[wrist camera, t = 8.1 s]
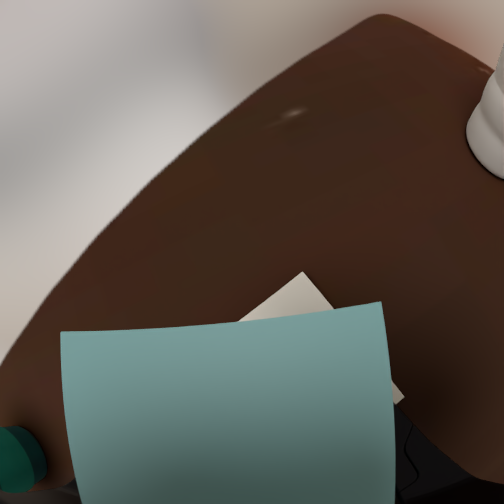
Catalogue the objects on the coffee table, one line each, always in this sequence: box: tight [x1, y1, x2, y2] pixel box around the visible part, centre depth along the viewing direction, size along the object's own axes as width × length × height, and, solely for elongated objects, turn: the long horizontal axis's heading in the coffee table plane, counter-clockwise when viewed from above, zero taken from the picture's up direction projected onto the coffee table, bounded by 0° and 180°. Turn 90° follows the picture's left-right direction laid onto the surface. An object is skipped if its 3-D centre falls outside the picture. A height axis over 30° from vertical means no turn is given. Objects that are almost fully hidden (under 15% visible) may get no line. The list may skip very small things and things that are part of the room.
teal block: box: [61, 302, 395, 504], centre depth 9 cm, size 5×5×13 cm
